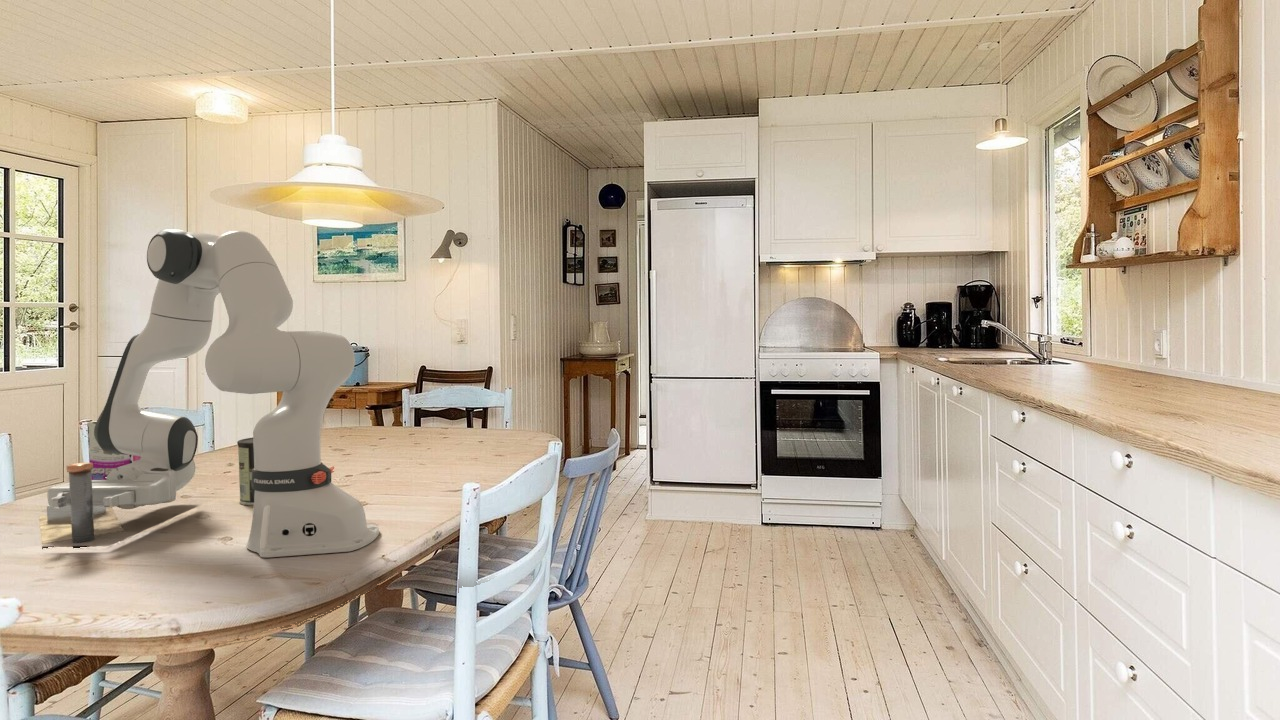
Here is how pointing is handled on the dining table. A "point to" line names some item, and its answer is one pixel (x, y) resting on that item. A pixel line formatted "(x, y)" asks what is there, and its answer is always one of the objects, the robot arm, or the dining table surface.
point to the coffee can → (246, 470)
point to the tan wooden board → (63, 529)
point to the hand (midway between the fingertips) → (80, 503)
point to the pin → (81, 502)
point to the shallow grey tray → (68, 513)
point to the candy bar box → (104, 457)
